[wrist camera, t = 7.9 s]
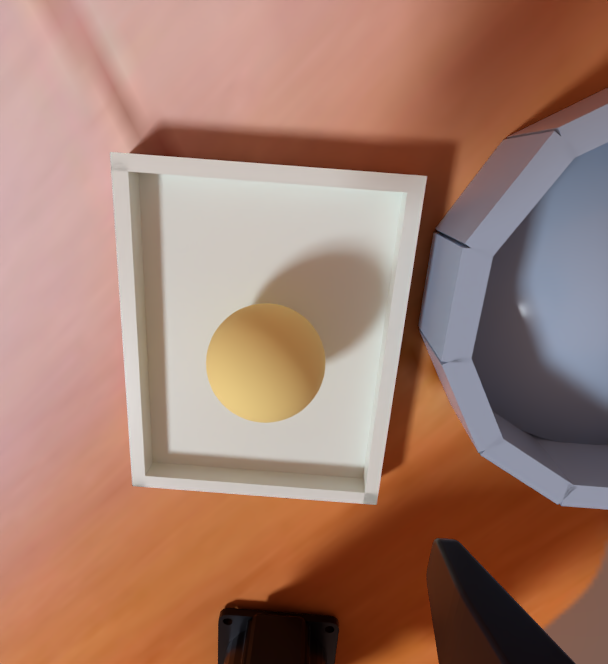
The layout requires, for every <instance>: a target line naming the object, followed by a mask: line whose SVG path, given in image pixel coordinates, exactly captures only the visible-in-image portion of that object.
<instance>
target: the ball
mask: <svg viewBox="0 0 608 664" xmlns="http://www.w3.org/2000/svg"><path fill="white" fill-rule="evenodd" d="M206 371H207V376H208V380H209V383H210V386H211V388H212V390H213V392H214V394H215V396H216V397H217V398H218V400H219V401H220V402H221V403H222V404H223V405H224V406H225V407H226V408H227V409H228V410H229V411H231V412H232V413H234V414H236V415H237V416H239V417H241V418H244V419H246V420H250V421H253V422H260V423H270V422H277V421H281V420H285V419H287V418H290V417H292V416H294V415H296V414H297V413H299V412H300V411H302V410H303V409H304V408H305V407H306V406H307V405H308V404H309V403H310V402H311V401H312V400H313V399H314V397H315V396H316V394H317V393H318V391H319V389H320V387H321V384H322V381H323V378H324V374H325V351H324V348H323V344H322V341H321V339H320V336H319V335H318V333H317V331H316V330H315V328H314V327H313V326H312V324H311V323H310V322H309V321H308V320H307V319H306V318H305V317H304V316H302V315H301V314H299V313H298V312H296V311H294V310H292V309H290V308H288V307H285V306H283V305H278V304H271V303H260V304H254V305H250V306H247V307H244V308H242V309H239V310H238V311H236V312H234V313H233V314H231V315H230V316H229V317H227V318H226V319H225V320H224V321H223V322H222V323H221V324H220V325H219V327H218V328H217V330H216V331H215V333H214V334H213V336H212V338H211V341H210V344H209V346H208V350H207V355H206Z"/></svg>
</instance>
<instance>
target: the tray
mask: <svg viewBox="0 0 608 664" xmlns="http://www.w3.org/2000/svg"><path fill="white" fill-rule="evenodd" d="M110 162H111V177H112V191H113V206H114V221H115V236H116V250H117V265H118V280H119V295H120V310H121V324H122V339H123V354H124V369H125V383H126V398H127V413H128V428H129V442H130V457H131V472H132V486H139V487H152V488H165V489H178V490H191V491H204V492H217V493H230V494H243V495H255V496H268V497H281V498H294V499H307V500H320V501H333V502H346V503H359V504H372V505H377V498H378V492H379V485H380V479H381V472H382V466H383V459H384V453H385V446H386V440H387V434H388V427H389V421H390V414H391V408H392V401H393V395H394V388H395V382H396V375H397V369H398V362H399V356H400V349H401V343H402V336H403V330H404V323H405V317H406V310H407V304H408V297H409V291H410V284H411V278H412V271H413V265H414V258H415V252H416V245H417V239H418V232H419V226H420V219H421V213H422V206H423V200H424V193H425V187H426V180H427V176H421V175H407V174H394V173H381V172H368V171H355V170H342V169H328V168H315V167H302V166H289V165H276V164H262V163H249V162H236V161H223V160H210V159H197V158H183V157H170V156H157V155H144V154H131V153H117V152H110ZM260 303H271V304H278V305H283V306H285V307H288V308H290V309H292V310H294V311H296V312H298V313H299V314H301V315H302V316H304V317H305V318H306V319H307V320H308V321H309V322H310V323H311V324H312V326H313V327H314V328H315V330H316V331H317V333H318V335H319V336H320V339H321V341H322V344H323V348H324V351H325V374H324V378H323V381H322V384H321V387H320V389H319V391H318V393H317V394H316V396H315V397H314V399H313V400H312V401H311V402H310V403H309V404H308V405H307V406H306V407H305V408H304V409H303V410H302V411H300V412H299V413H297V414H296V415H294V416H292V417H290V418H287V419H285V420H281V421H277V422H270V423H260V422H253V421H250V420H246V419H244V418H241V417H239V416H237V415H236V414H234V413H232V412H231V411H229V410H228V409H227V408H226V407H225V406H224V405H223V404H222V403H221V402H220V401H219V400H218V398H217V397H216V396H215V394H214V392H213V390H212V388H211V386H210V383H209V380H208V376H207V371H206V355H207V350H208V346H209V344H210V341H211V338H212V336H213V334H214V333H215V331H216V330H217V328H218V327H219V325H220V324H221V323H222V322H223V321H224V320H225V319H226V318H227V317H229V316H230V315H231V314H233V313H234V312H236V311H238V310H239V309H242V308H244V307H247V306H250V305H254V304H260Z"/></svg>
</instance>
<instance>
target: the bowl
mask: <svg viewBox="0 0 608 664" xmlns="http://www.w3.org/2000/svg"><path fill="white" fill-rule="evenodd" d="M435 229H436V230H437V231H439V232H440V233H436V232H433V238H432V244H431V250H430V257H429V263H428V269H427V275H426V281H425V287H424V293H423V299H422V305H421V311H420V317H419V323H418V326H419V331H420V334H421V336H422V338H423V341H424V343H425V346H426V348H427V350H428V353H429V355H430V357H431V360H432V362H433V364H434V367H435V369H436V371H437V374H438V376H439V378H440V381H441V383H442V385H443V388H444V390H445V392H446V395H447V397H448V399H449V402H450V404H451V406H452V407H453V409H454V411H455V413H456V414H457V416H458V418H459V420H460V421H461V423H462V425H463V427H464V428H465V430H466V432H467V434H468V435H469V437H470V439H471V441H472V442H473V444H474V446H475V448H476V449H477V451H478V453H480V455H481V456H483V457H484V458H486V459H487V460H489V461H490V462H492V463H494V464H495V465H497V466H498V467H500V468H501V469H503V470H504V471H506V472H508V473H509V474H511V475H512V476H514V477H515V478H517V479H518V480H520V481H522V482H523V483H525V484H526V485H528V486H529V487H531V488H532V489H534V490H536V491H537V492H539V493H540V494H542V495H543V496H545V497H546V498H548V499H550V500H551V501H553V502H554V503H556V504H557V505H558V504H560V505H561V506H568V507H581V508H594V509H607V510H608V88H606V89H604V90H602V91H600V92H597V93H595V94H593V95H591V96H589V97H587V98H585V99H583V100H581V101H579V102H577V103H575V104H573V105H571V106H569V107H567V108H565V109H563V110H561V111H559V112H557V113H555V114H552V115H550V116H548V117H546V118H544V119H542V120H540V121H538V122H536V123H534V124H532V125H530V126H528V127H526V128H524V129H522V130H520V131H518V132H516V133H514V134H512V135H509V136H507V139H504V140H503V141H502V142H501V143H500V145H499V146H498V147H497V149H496V150H495V151H494V153H493V154H492V155H491V156H490V158H489V159H488V160H487V162H486V163H485V164H484V166H483V167H482V168H481V169H480V171H479V172H478V173H477V175H476V176H475V177H474V179H473V180H472V181H471V183H470V184H469V185H468V186H467V188H466V189H465V190H464V192H463V193H462V194H461V196H460V197H459V198H458V200H457V201H456V202H455V203H454V205H453V206H452V207H451V209H450V210H449V211H448V213H447V214H446V215H445V216H444V218H443V219H442V220H441V222H440V223H439V224H438V226H437V227H436V228H435Z"/></svg>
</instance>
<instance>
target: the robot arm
mask: <svg viewBox="0 0 608 664" xmlns="http://www.w3.org/2000/svg"><path fill="white" fill-rule="evenodd" d="M427 587H428V594H429V600H430V607H431V614H432V620H433V627H434V634H435V640H436V647H437V654H438V660H439V664H575V663H574V662H573V661H572V659H571V658H570V657H569V656H568V655H567V654H566V653H565V652H564V651H563V650H562V649H561V648H560V647H559V646H558V645H557V644H556V643H555V642H554V641H553V640H552V639H551V638H550V637H549V636H548V634H547V633H546V632H545V631H544V630H543V629H542V628H541V627H540V626H539V625H538V624H537V623H536V622H535V621H534V620H533V619H532V618H531V617H530V616H529V615H528V613H527V612H526V611H525V610H524V609H523V608H522V607H521V606H520V605H519V604H518V603H517V602H516V601H515V600H514V599H513V598H512V597H511V596H510V595H509V594H508V593H507V592H506V590H505V589H504V588H503V587H502V586H501V585H500V584H499V583H498V582H497V581H496V580H495V579H494V578H493V577H492V576H491V575H490V574H489V573H488V572H487V571H486V570H485V569H484V567H483V566H482V565H481V564H480V563H479V562H478V561H477V560H476V559H475V558H474V557H473V556H472V555H471V554H470V553H469V552H468V551H467V550H466V549H465V548H464V547H463V546H462V544H461V543H460V542H458V541H457V540H454V539H444V538H437V539H435V540H434V542H433V545H432V549H431V554H430V558H429V563H428V568H427ZM338 633H339V623H338V620H337V618H335V617H333V616H325V615H313V614H300V613H287V612H274V611H261V610H248V609H235V608H225V609H223V610H222V611H221V612H220V616H219V623H218V664H334V662H335V655H336V648H337V640H338Z"/></svg>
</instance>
